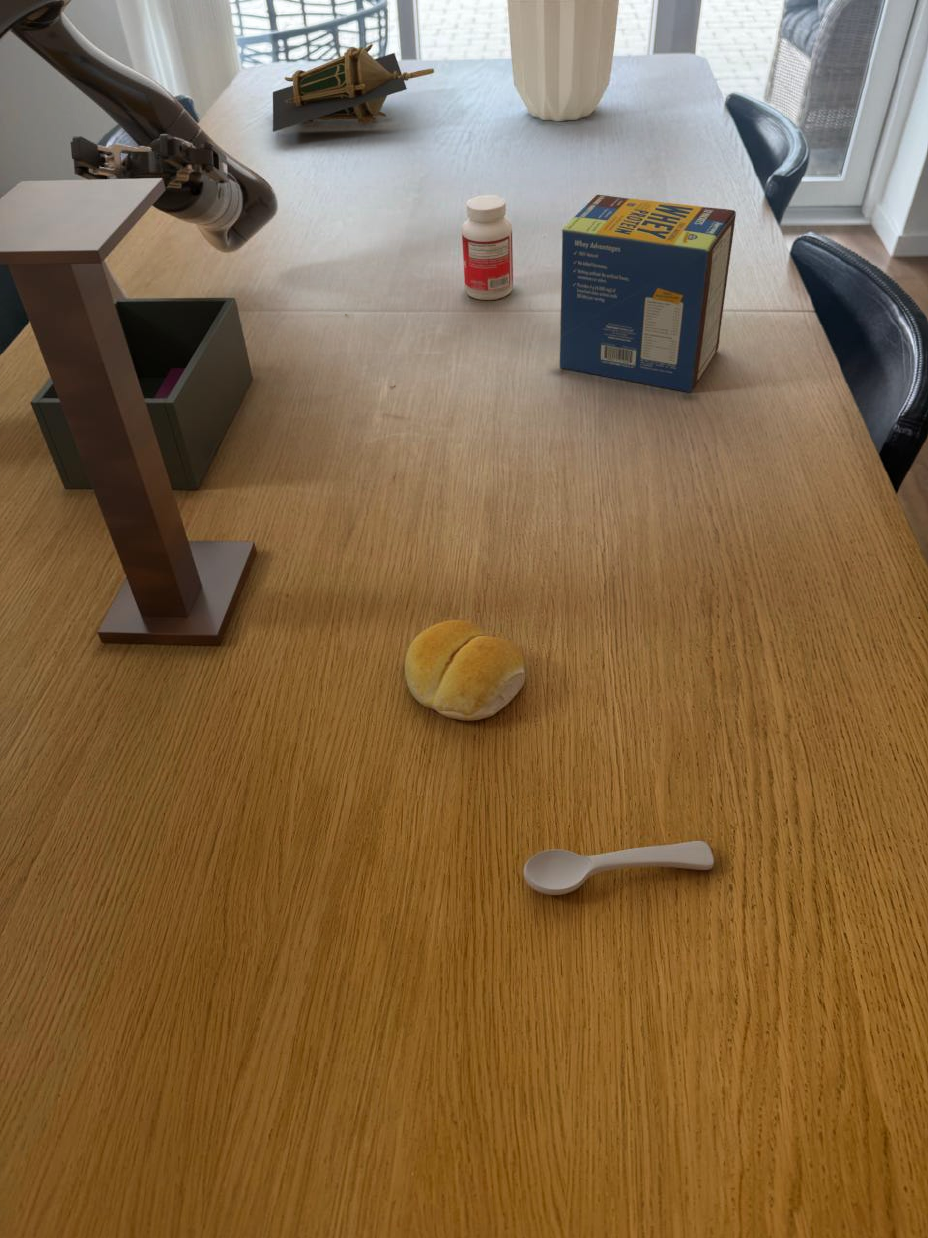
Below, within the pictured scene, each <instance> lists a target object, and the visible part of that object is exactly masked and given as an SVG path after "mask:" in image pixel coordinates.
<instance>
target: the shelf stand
mask: <svg viewBox="0 0 928 1238" xmlns="http://www.w3.org/2000/svg"><path fill="white" fill-rule="evenodd" d="M165 190H166V189H165V185H164V181H163V178H143V179H97V180H89V179H61V180H59V179H56V180H21V181H19V182H18V183H17V184H16V185H14V186H13V187H12V188H11V189H10V190H8V192H6V193H5V194H4V195H2V196H1V197H0V266H8V268H9V271H10V273H11V277H12V280H13V282H14V284H15V287H16V289H17V292H18V294H19V297H20V300H21V304H22V305H23V308H24V311H25V313H26V316H27V318H28V321H29V324H30V326H31V329H32V332H33V334H34V337H35V340H36V343H37V345H38V348H39V350H40V353H41V355H42V358H43V360H44V364H45V366H46V368H47V371H48V375H49V378H50V377H51V379H52V382H53V385H54V387H55V390H56V393H57V395H58V398H59V401H60V403H61V406H62V408H63V411H64V414H65V416H66V419H67V422H68V424H69V427H70V430H71V432H72V435H73V438H74V440H75V443H76V445H77V448H78V451H79V453H80V456H81V459H82V461H83V464H84V467H85V469H86V472H87V475H88V477H89V480H90V482H91V485H92V488H93V489H92V490H93V494H94V496H95V498H96V500H97V504H98V506H99V509H100V511H101V514H102V516H103V519H104V522H105V524H106V527H107V530H108V532H109V535H110V538H111V541H112V543H113V546H114V548H115V552H116V554H117V556H118V559H119V561H120V564H121V566H122V569H123V572H124V575H125V578H124V580H123V582H122V584H121V586H120V587H119V590H118V591H117V594H116V595H115V597H114V599H113V601H112V602H111V605H110V607H109V608H108V611H107V612H106V614H105V616H104V618H103V620H102V622H101V624H100V626H99V627H98V630H97V631H96V633H97V635H98V638H99V640H100V642H101V643H104V644H107V643H110V644H139V645H140V644H143V645H144V644H145V645H146V644H147V645H176V646H177V645H178V646H214V647H215V646H216V647H217V646H218V647H220V646H221V645H222V642H223V640H224V638H225V635H226V633H227V630H228V627H229V625H230V622H231V619H232V617H233V614H234V613H235V610H236V607H237V604H238V601H239V599H240V597H241V594H242V591H243V589H244V586H245V584H246V580H247V578H248V576H249V573H250V570H251V568H252V565H253V563H254V560H255V558H256V555H257V553H258V551H257V547H256V543H255V541H253V540H252V541H251V540H250V541H247V540H245V541H244V540H189V538H188V535H187V532H186V529H185V525H184V522H183V520H182V515H181V513H180V510H179V507H178V504H177V500H176V497H175V493H174V491H173V490H172V487H171V484H170V481H169V477H168V474H167V471H166V468H165V464H164V461H163V458H162V455H161V452H160V448H159V445H158V442H157V439H156V435H155V432H154V429H153V426H152V423H151V419H150V416H149V413H148V410H147V407H146V403H145V400H144V397H143V394H142V390H141V387H140V384H139V381H138V378H137V374H136V371H135V368H134V365H133V361H132V358H131V355H130V352H129V349H128V345H127V342H126V339H125V336H124V332H123V329H122V326H121V323H120V320H119V316H118V313H117V310H116V307H115V304H114V300H113V297H112V294H111V291H110V287H109V284H108V281H107V278H106V275H105V271H104V268H103V265H102V262H103V261H104V260H106V259H107V258H108V257H109V256H110V254H112V252H113V251H114V250H115V249H116V247H117V246H119V244H120V243H121V242H122V240H124V238H125V237H126V236H127V235H128V234H129V233H130V231H132V229H133V228H134V227H136V225H137V223H138V222H139V221H140V220H141V219H142V218H143V216H144V215H145V214H146V213H147V212H148V211H149V210H150V209H151V208H152V207H153V206H152V205H153V204H154V203H155V202H156V200H157V199H158V198H159V197H160V196H161V195H162V193H163V192H164V191H165Z"/></svg>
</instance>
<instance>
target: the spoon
mask: <svg viewBox="0 0 928 1238" xmlns="http://www.w3.org/2000/svg"><path fill="white" fill-rule="evenodd" d="M714 863H715V858H714V855H713V852H712V849H711V847H710V845H709V844H707V842H705V841H702V840H693V841H686V842H680V843H674V844H665V845H663V844H662V845H653V846H642V847H633V848H627V849H623V850H617V851H612V852H606V853H601V854H594V855H582V854H578V853H575V852H572V851H570V850H566V849H560V848H553V849H552V848H551V849H545V850H541V851H539V852H537V853H535V854H534V855H532V856H531V857H530V858H529V859H528V860H527V861H526V862H525V864H524V867H523V872H522V873H523V878H524V880H525V883H526V884H527V885H528V886H529V888H531V889H533V890H534V891H536V892H538V893H540V894H543V895H548V896H559V895H560V896H562V895H566V894H569V893H572V892H574V891H576V890H577V889H579V888H580V887H581V886H582V885H583V884H584V883H585V882H586V880H588V879H589V878H590V877H592V876H594V875H597V874H599V873H603V872H609V871H614V870H621V869H630V868H631V869H632V868H643V867H646V868H647V867H649V868H650V867H653V868H656V867H658V868H659V867H660V868H661V867H662V868H677V869H678V868H679V869H687V870H697V871H698V870H699V871H709V870H711V869H712V868H714Z"/></svg>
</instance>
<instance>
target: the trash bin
mask: <svg viewBox="0 0 928 1238" xmlns="http://www.w3.org/2000/svg"><path fill="white" fill-rule="evenodd" d="M113 300H114V304H115V307H116V310H117V313H118V316H119V320H120V323H121V326H122V329H123V332H124V336H125V339H126V342H127V345H128V349H129V352H130V355H131V358H132V361H133V365H134V368H135V371H136V374H137V378H138V381H139V384H140V387H141V390H142V394H143V397H144V400H145V403H146V407H147V410H148V413H149V416H150V419H151V423H152V426H153V429H154V432H155V435H156V439H157V442H158V445H159V448H160V452H161V455H162V458H163V461H164V464H165V468H166V471H167V474H168V477H169V481H170V484H171V487H172V490H174V491H198V490H199V488H200V487H201V484H202V482H203V480H204V479H205V476H206V474H207V473H208V470H209V468H210V466H211V465H212V462H213V461H214V458H215V457H216V454H217V452H218V450H219V448H220V446H221V444H222V443H223V440H224V438H225V436H226V435H227V432H228V430H229V428H230V426H231V424H232V422H233V421H234V418H235V416H236V414H237V412H238V411H239V408H240V406H241V404H242V401H243V400H244V398H245V395H246V394H247V392H248V390H249V388H250V385H252V384H251V383H252V382H253V380H254V375H253V372H252V368H251V362H250V358H249V354H248V350H247V345H246V340H245V335H244V331H243V327H242V323H241V318H240V314H239V308H238V304H237V299H236V297H154V298H153V297H151V298H150V297H149V298H148V297H146V298H144V297H143V298H139V297H138V298H136V297H135V298H130V299H113ZM171 368H185V370H184V372H183V373H182V375H181V377H180V378H179V380H178V382H177V383H176V385H175V387H174V388H173V390H172V392H171V393H170V395H169V396H168V398H167V399H154V397H155V395H156V394H157V392H158V390H159V389H160V387H161V385H162V383H163V382H164V380H165V378H166V377H167V375H168V373H169V371H170V370H171ZM29 404H30V407H31V409H32V411H33V414H34V416H35V418H36V421H37V423H38V426H39V429H40V432H41V433H42V436H43V439H44V442H45V443H46V446H47V449H48V451H49V453H50V456H51V458H52V461H53V463H54V466H55V468H56V470H57V473H58V477H59V479H60V481H61V483H62V486H63V488H64V489H73V490H75V489H77V490H80V489H85V490H91V489H92V490H93V488H92V485H91V482H90V480H89V477H88V475H87V472H86V469H85V467H84V464H83V461H82V459H81V456H80V453H79V451H78V448H77V445H76V443H75V440H74V438H73V435H72V432H71V430H70V427H69V424H68V422H67V419H66V416H65V414H64V411H63V408H62V406H61V403H60V401H59V398H58V395H57V393H56V390H55V387H54V385H53V382H52V379H51V377H50V376H49V378H48V379H47V381H45V383H44V384H43V386H41V388H40V389H39V390H38V392H37V393H36V394H35V396H34V397H33V398H32V399H31V400H30V401H29Z"/></svg>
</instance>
